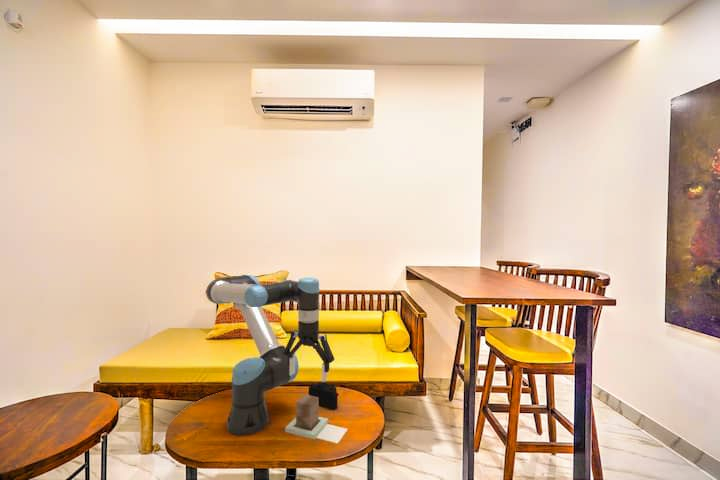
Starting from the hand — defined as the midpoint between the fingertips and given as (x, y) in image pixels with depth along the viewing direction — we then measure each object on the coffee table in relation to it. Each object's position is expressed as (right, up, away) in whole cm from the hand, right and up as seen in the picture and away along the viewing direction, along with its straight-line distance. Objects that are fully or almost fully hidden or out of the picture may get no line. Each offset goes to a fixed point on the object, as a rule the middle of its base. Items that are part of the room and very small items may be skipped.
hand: (308, 377), depth 124 cm
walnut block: (0, -19, +1) cm, 19 cm away
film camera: (+5, -19, +20) cm, 28 cm away
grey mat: (+9, -20, -3) cm, 22 cm away
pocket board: (0, -19, +1) cm, 19 cm away
